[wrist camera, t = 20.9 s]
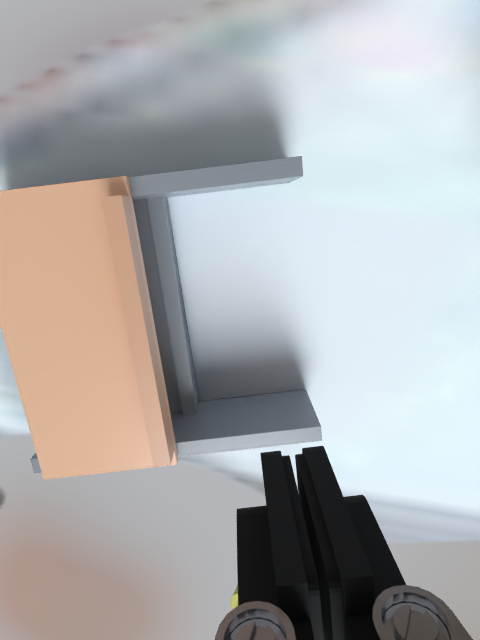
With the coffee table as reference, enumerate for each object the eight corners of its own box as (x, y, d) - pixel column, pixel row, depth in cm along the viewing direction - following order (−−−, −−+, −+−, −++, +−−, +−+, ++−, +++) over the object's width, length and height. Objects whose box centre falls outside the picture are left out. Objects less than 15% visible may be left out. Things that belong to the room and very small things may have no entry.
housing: (287, 166, 32) (301, 156, 26) (306, 401, 38) (321, 440, 31) (2, 201, 33) (-53, 199, 26) (61, 429, 38) (26, 473, 31)
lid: (128, 176, 26) (117, 173, 23) (178, 458, 31) (173, 480, 29) (-28, 195, 26) (-56, 194, 23) (48, 472, 31) (32, 495, 29)
